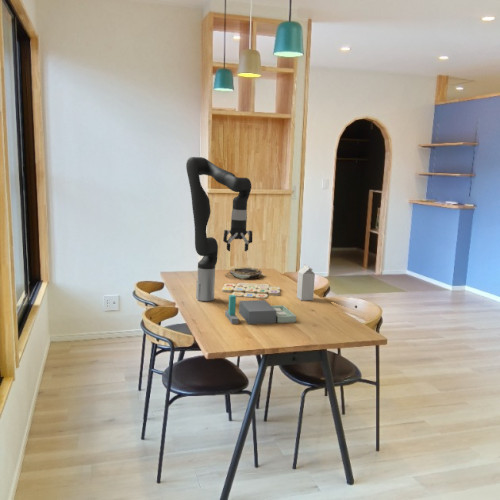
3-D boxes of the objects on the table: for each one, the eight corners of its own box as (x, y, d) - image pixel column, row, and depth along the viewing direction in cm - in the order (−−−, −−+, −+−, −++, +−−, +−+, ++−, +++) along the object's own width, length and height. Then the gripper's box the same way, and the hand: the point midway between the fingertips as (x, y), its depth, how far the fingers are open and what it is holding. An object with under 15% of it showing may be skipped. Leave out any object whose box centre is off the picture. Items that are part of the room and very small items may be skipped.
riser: (248, 324, 225) (249, 311, 224) (239, 312, 242) (239, 300, 241) (275, 323, 228) (276, 310, 227) (264, 311, 245) (264, 300, 244)
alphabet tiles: (280, 286, 301) (281, 283, 301) (278, 300, 269) (279, 296, 269) (227, 283, 304) (227, 279, 304) (218, 296, 272) (218, 292, 272)
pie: (274, 278, 324) (275, 270, 323) (245, 284, 305) (245, 276, 304) (244, 270, 343) (245, 263, 342) (215, 276, 324) (215, 268, 323)
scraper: (231, 324, 224) (232, 299, 222) (225, 315, 237) (226, 292, 235) (238, 324, 225) (239, 299, 223) (231, 314, 238) (232, 291, 236)
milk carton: (301, 300, 269) (303, 266, 266) (296, 297, 276) (298, 264, 273) (313, 300, 271) (315, 266, 268) (308, 297, 278) (310, 264, 274)
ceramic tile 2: (281, 310, 239) (281, 314, 239) (279, 308, 243) (279, 312, 243) (274, 310, 238) (273, 314, 238) (271, 308, 242) (271, 312, 242)
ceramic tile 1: (286, 314, 233) (286, 318, 234) (284, 311, 237) (283, 315, 237) (278, 314, 232) (278, 318, 233) (276, 312, 236) (276, 316, 236)
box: (277, 322, 228) (278, 316, 228) (266, 311, 246) (266, 305, 245) (295, 322, 231) (296, 316, 230) (283, 311, 248) (283, 305, 248)
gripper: (251, 218, 246) (249, 249, 249) (223, 217, 242) (221, 249, 245) (255, 220, 239) (253, 252, 242) (226, 219, 235) (224, 252, 238)
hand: (237, 251), depth 244 cm, fingers open, 8 cm apart
